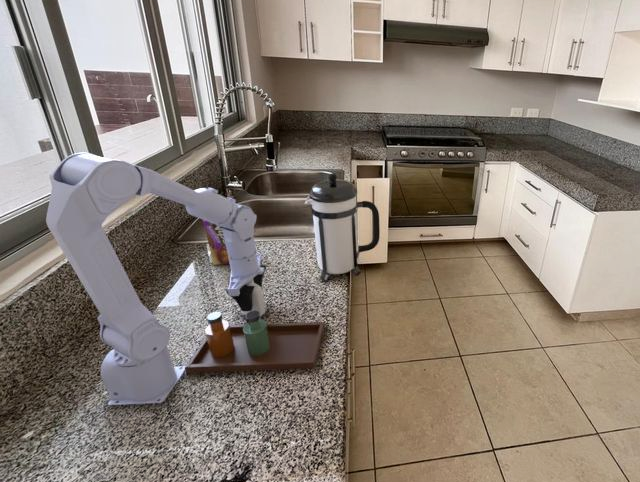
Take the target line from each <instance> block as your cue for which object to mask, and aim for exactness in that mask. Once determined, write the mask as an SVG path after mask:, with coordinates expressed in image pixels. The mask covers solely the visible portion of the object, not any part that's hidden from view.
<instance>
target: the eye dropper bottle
mask: <svg viewBox="0 0 640 482" xmlns="http://www.w3.org/2000/svg"><path fill="white" fill-rule="evenodd" d="M246 284H247V286H255V287H254V290H253V294H252V304H253V306H252V310H251V311H258V312H259V313H260V317H262V316H263V315H264V314H265V313H266V311H267V310H266V303H265V297H264V293H263V288H261V287H260V286H259V285H257V284H256V283H254V280H253V278H252V279H251V280H250V281H248V282H247V283H246ZM249 312H250V311H242V310H241V309H240V313H241V314H242V315H244V316H246V314H247V313H249Z"/></svg>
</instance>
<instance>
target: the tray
mask: <svg viewBox="0 0 640 482" xmlns="http://www.w3.org/2000/svg"><path fill="white" fill-rule="evenodd" d="M229 325H230V329H231V334H232V338H233V342H234V349H233V350H232V352H231V353H229V354H228V355H226V356H224V357H220V358H215V357H213V356H211V353H210V349H209V346H208V342H207V338H206V336H205V337H204V339H203V340H202V341H201V343H200V344H199V346H198V347H197V349H196V350H195V352H194V353H193V354H192V356H191V357H190V359H189V361H188V362H187V363H186V364H185V365H184V366H185V373H186V374H207V373H208V374H209V373H210V374H211V373H232V372H233V373H234V372H256V371H258V372H260V371H281V370H307V369H315V367H316V364H317V359H318V355H319V351H320V349H321V345H322V339H323V336H324V333H325V328H326V326H325V322H324V321H322V322H321V321H320V322H319V321H318V322H290V323H289V322H288V323H287V322H286V323H284V322H283V323H266V325H267V330H268V336H269V341H270V348H269V350H268V351H267V352H266V353H264V354H262V355H260V356H251V355H249V354H248V351H247V346H246V342H245V337H244V332H243V327H244V326H245V325H246V324H229Z"/></svg>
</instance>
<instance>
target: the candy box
mask: <svg viewBox="0 0 640 482" xmlns="http://www.w3.org/2000/svg"><path fill="white" fill-rule="evenodd" d="M202 222H203V226H204V231H205V235H206V238H207V242H208V247H209V252H210V255H211V260H212V264H213V266H217V265H230V263H229V258H228V253H227V248H226V244H225V239H224V234H223V230H222V228H224V227H221V226H217V225H216V224H214V223H211V222H208V221H206V220H203V219H202Z"/></svg>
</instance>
